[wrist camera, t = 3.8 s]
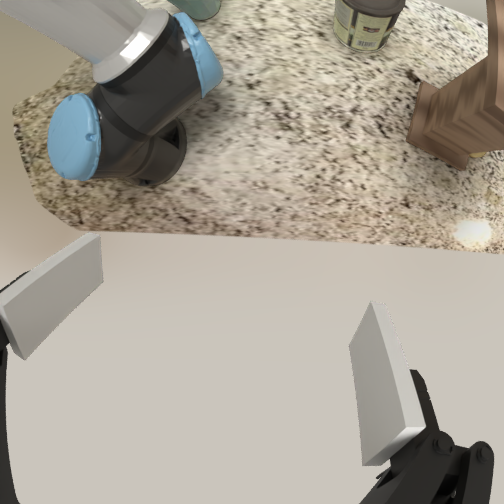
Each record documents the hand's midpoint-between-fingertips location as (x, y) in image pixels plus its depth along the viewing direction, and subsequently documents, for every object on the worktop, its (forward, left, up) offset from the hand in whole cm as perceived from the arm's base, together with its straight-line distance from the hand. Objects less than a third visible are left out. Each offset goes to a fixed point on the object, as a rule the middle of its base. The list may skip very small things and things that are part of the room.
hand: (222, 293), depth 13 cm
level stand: (+11, +31, -37) cm, 49 cm away
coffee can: (-11, +36, -37) cm, 53 cm away
